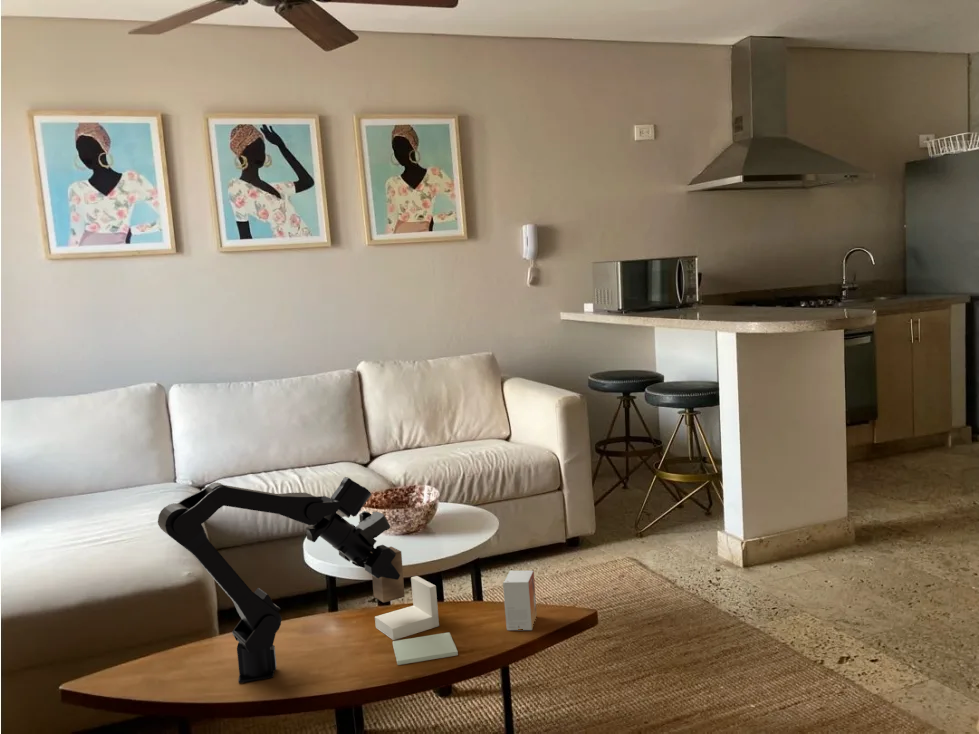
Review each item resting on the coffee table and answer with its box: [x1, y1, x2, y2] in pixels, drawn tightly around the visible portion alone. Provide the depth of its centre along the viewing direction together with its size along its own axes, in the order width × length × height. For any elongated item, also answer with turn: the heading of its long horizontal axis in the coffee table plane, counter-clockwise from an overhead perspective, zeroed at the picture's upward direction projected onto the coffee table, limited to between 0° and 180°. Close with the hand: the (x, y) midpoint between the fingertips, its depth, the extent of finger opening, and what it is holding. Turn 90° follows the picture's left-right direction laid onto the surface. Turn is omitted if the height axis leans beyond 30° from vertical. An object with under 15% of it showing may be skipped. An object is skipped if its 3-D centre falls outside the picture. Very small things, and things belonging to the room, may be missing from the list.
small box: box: [502, 569, 538, 631], centre depth 172 cm, size 8×6×10 cm
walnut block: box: [371, 546, 406, 603], centre depth 172 cm, size 5×5×10 cm
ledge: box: [374, 575, 440, 641], centre depth 175 cm, size 11×9×9 cm
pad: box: [392, 632, 459, 666], centre depth 162 cm, size 12×10×1 cm
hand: (393, 574), depth 173 cm, fingers closed on walnut block, 5 cm apart
